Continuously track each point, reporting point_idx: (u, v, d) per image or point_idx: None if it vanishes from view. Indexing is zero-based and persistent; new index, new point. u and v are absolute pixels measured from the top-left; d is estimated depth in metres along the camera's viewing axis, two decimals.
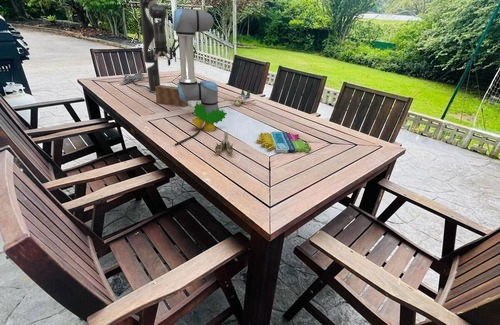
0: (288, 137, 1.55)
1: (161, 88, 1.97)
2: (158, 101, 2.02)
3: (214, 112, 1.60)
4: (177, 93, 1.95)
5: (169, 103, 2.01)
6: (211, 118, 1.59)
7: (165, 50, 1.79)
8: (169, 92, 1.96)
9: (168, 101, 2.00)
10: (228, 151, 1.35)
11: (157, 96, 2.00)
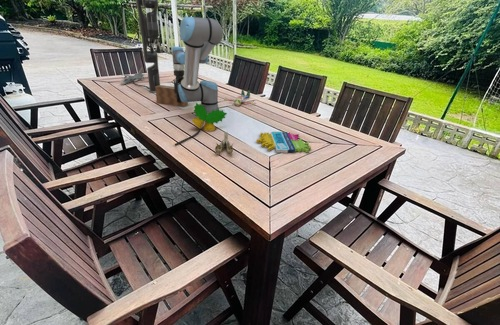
0: (288, 137, 1.55)
1: (161, 88, 1.97)
2: (158, 101, 2.02)
3: (214, 112, 1.60)
4: None
5: (169, 103, 2.01)
6: (211, 118, 1.59)
7: (157, 38, 1.95)
8: (169, 92, 1.96)
9: (168, 101, 2.00)
10: (228, 151, 1.35)
11: (157, 96, 2.00)
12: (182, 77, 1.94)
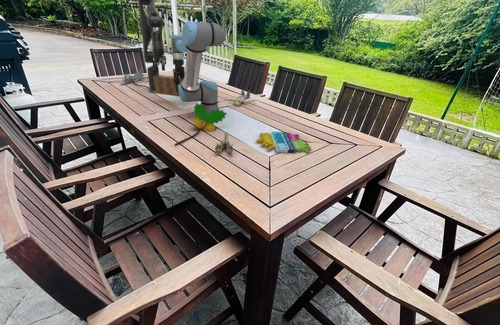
0: (288, 137, 1.55)
1: (160, 78, 1.93)
2: (157, 91, 1.99)
3: (214, 112, 1.60)
4: None
5: (168, 93, 1.97)
6: (211, 118, 1.59)
7: (162, 56, 1.91)
8: (168, 82, 1.93)
9: (167, 91, 1.96)
10: (228, 151, 1.35)
11: (156, 86, 1.97)
12: (181, 66, 1.91)
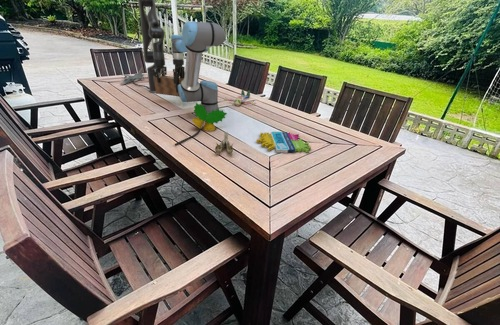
0: (288, 137, 1.55)
1: (160, 78, 1.93)
2: (157, 91, 1.99)
3: (214, 112, 1.60)
4: None
5: (168, 93, 1.97)
6: (211, 118, 1.59)
7: (163, 66, 1.94)
8: (168, 82, 1.93)
9: (167, 91, 1.96)
10: (228, 151, 1.35)
11: (156, 86, 1.97)
12: (181, 66, 1.91)
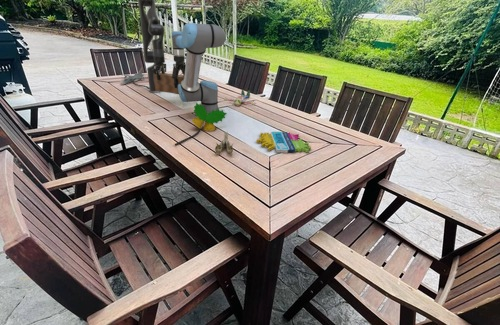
0: (288, 137, 1.55)
1: (160, 75, 1.92)
2: (157, 89, 1.98)
3: (214, 112, 1.60)
4: None
5: (168, 91, 1.96)
6: (211, 118, 1.59)
7: (163, 64, 1.93)
8: (168, 79, 1.92)
9: (167, 88, 1.96)
10: (228, 151, 1.35)
11: (156, 83, 1.96)
12: (182, 64, 1.89)
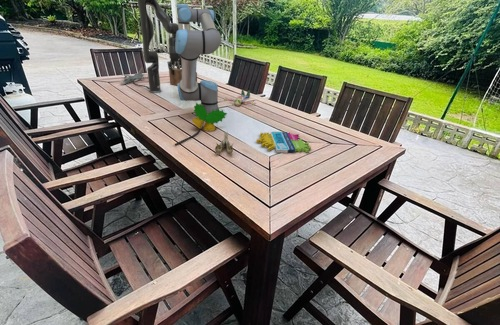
0: (288, 137, 1.55)
1: None
2: (171, 83, 2.13)
3: (214, 112, 1.60)
4: None
5: None
6: (211, 118, 1.59)
7: (178, 60, 2.08)
8: (180, 74, 2.05)
9: None
10: (228, 151, 1.35)
11: (170, 78, 2.12)
12: None
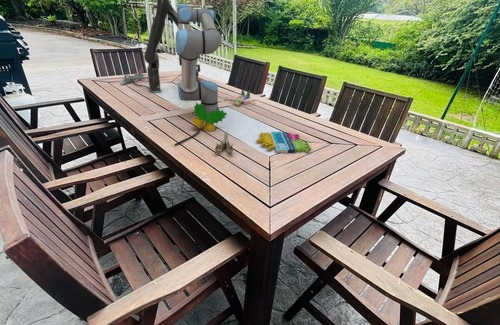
0: (288, 137, 1.55)
1: None
2: None
3: (214, 112, 1.60)
4: None
5: None
6: (211, 118, 1.59)
7: None
8: None
9: None
10: (228, 151, 1.35)
11: None
12: None
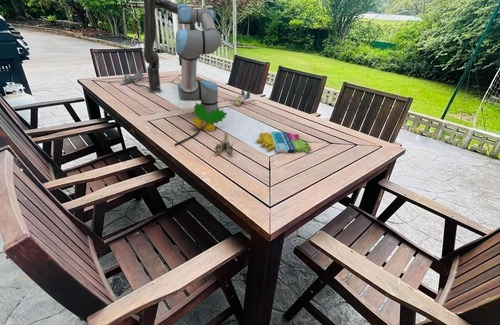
0: (288, 137, 1.55)
1: None
2: None
3: (214, 112, 1.60)
4: None
5: None
6: (211, 118, 1.59)
7: None
8: None
9: None
10: (228, 151, 1.35)
11: None
12: None
